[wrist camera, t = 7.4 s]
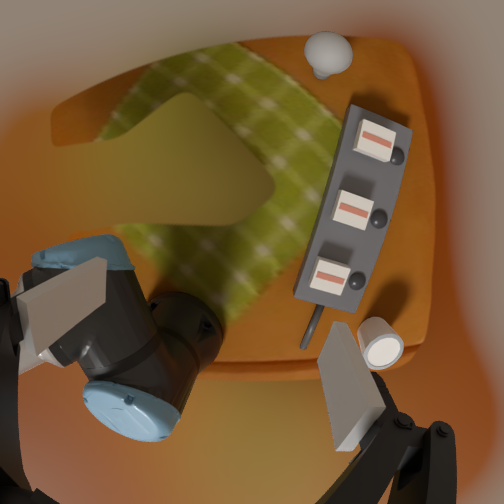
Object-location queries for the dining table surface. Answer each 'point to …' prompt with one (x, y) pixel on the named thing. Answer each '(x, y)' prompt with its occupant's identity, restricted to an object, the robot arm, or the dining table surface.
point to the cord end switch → (329, 275)
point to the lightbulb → (328, 54)
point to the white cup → (379, 343)
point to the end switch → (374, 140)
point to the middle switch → (351, 209)
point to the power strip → (345, 236)
